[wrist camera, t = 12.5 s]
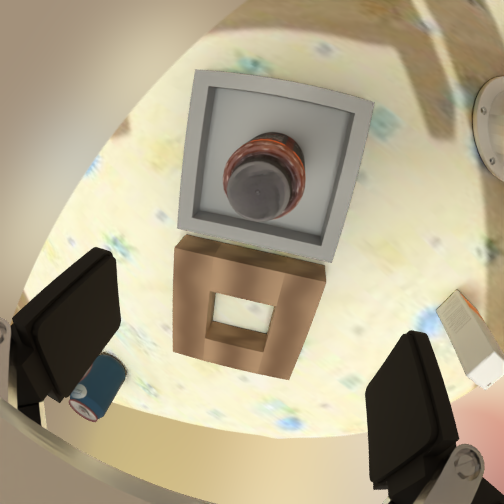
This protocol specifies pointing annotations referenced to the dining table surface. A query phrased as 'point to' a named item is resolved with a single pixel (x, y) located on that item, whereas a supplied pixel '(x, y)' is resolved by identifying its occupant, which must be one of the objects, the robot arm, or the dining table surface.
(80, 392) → the soda can
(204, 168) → the tray
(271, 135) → the supplement bottle
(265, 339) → the socket block
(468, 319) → the skincare box
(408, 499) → the robot arm
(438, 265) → the dining table surface
